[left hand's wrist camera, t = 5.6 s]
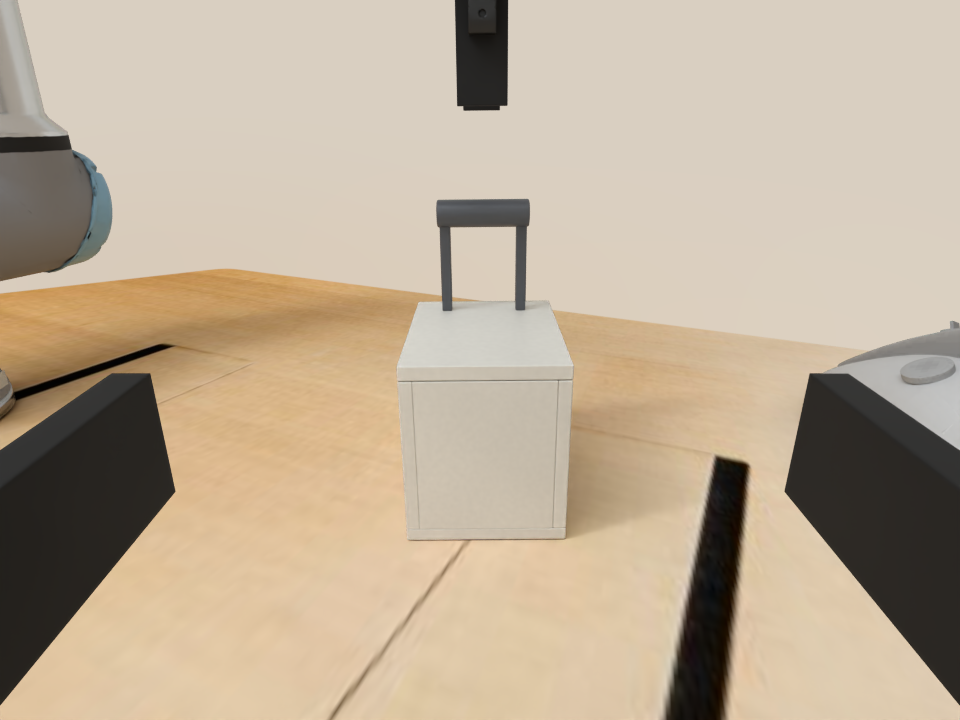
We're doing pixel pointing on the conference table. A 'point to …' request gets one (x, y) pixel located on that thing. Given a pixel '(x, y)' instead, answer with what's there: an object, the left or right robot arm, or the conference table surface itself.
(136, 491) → the left robot arm
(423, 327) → the lid
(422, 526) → the chest
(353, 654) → the conference table surface
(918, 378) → the projector
